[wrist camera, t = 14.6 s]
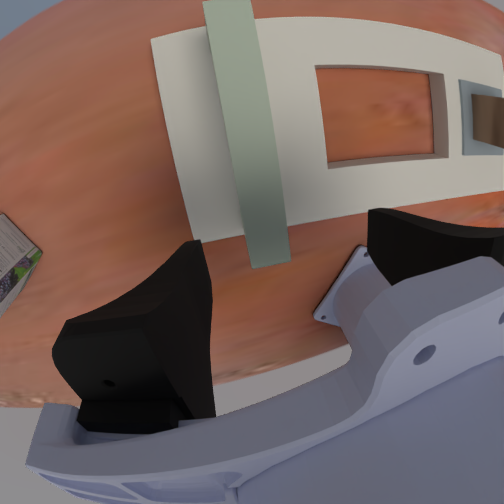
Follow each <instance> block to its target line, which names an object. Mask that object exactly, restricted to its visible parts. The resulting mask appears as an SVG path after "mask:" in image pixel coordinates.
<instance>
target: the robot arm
mask: <svg viewBox="0 0 504 504" xmlns="http://www.w3.org/2000/svg"><path fill="white" fill-rule="evenodd" d="M365 252H367V254H366V255H364V253H365ZM212 303H213V299H212V285H211V279H210V275H209V271H208V267H207V263H206V260H205V256H204V252H203V248H202V244H201V240H200V239H198V240H193V241H188V242H185V243H184V244H183V245H181V246H180V247H179V248H178V249H177V251H176V252H175V253H174V254H173V255H172V256H171V257H170V258H169V259H168V260H167V261H166V262H165V263H164V264H163V265H161V266H160V267H159V268H158V269H157V270H156V271H155V272H154V273H153V274H152V275H151V276H149V277H148V278H147V279H146V280H144V281H143V282H142V283H140V284H139V285H138V286H136V287H135V288H133V289H132V290H130V291H128V292H127V293H125V294H124V295H122V296H120V297H119V298H117V299H115V300H113V301H112V302H110V303H108V304H106V305H104V306H101V307H99V308H97V309H95V310H93V311H90V312H88V313H85V314H82V315H80V316H77V317H74V318H72V319H68V320H66V322H65V324H64V326H63V328H62V330H61V332H60V334H59V336H58V338H57V340H56V342H55V344H54V346H53V348H52V358H53V361H54V364H55V366H56V368H57V369H58V371H59V373H60V374H61V375H62V377H63V378H64V379H65V380H66V382H67V383H68V384H69V385H70V387H71V388H72V389H73V390H74V391H75V393H76V394H77V395H78V396H79V397H80V398H81V399H82V402H81V406H80V409H78V408H77V407H75V406H72V405H68V404H57V403H44V406H43V409H42V412H41V414H40V417H39V420H38V423H37V426H36V429H35V432H34V435H33V439H32V442H31V445H30V449H29V452H28V456H27V459H26V463H25V465H26V467H27V468H28V469H30V470H31V471H33V472H34V473H35V474H37V475H39V476H40V477H42V478H43V479H45V480H46V481H48V482H50V483H51V484H53V485H55V486H56V487H58V488H60V489H61V490H63V491H65V492H67V493H69V494H70V495H72V496H74V497H76V498H80V499H84V500H88V501H93V502H97V503H102V504H504V228H486V227H472V226H463V225H457V224H451V223H445V222H441V221H436V220H432V219H428V218H424V217H420V216H417V215H413V214H409V213H406V212H402V211H398V210H394V209H388V208H375V209H368V238H367V247H365V246H362V245H361V246H359V247H357V249H356V250H355V252H354V253H353V255H352V256H351V258H350V260H349V261H348V263H347V264H346V266H345V267H344V269H343V270H342V272H341V274H340V275H339V277H338V278H337V280H336V281H335V283H334V284H333V286H332V287H331V289H330V290H329V292H328V293H327V295H326V296H325V297H324V299H323V300H322V302H321V303H320V305H319V306H318V308H317V309H316V310H315V312H314V314H313V316H314V319H315V320H318V321H322V322H325V323H328V324H332V325H335V326H339V327H341V329H342V331H343V333H344V335H345V337H346V339H347V341H348V343H349V345H350V346H351V348H352V354H351V357H350V360H349V361H348V362H347V363H346V364H345V365H343V366H341V367H339V368H337V369H336V370H333V371H331V372H329V373H327V374H325V375H323V376H321V377H319V378H316V379H314V380H312V381H310V382H307V383H305V384H303V385H301V386H298V387H296V388H294V389H291V390H289V391H287V392H284V393H282V394H279V395H277V396H274V397H272V398H269V399H267V400H264V401H261V402H259V403H256V404H253V405H250V406H248V407H245V408H242V409H239V410H236V411H233V412H230V413H228V414H224V415H221V416H218V417H216V411H215V403H214V395H213V385H212V374H211V361H210V333H211V319H212ZM324 315H325V316H324ZM322 316H324V317H322Z"/></svg>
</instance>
